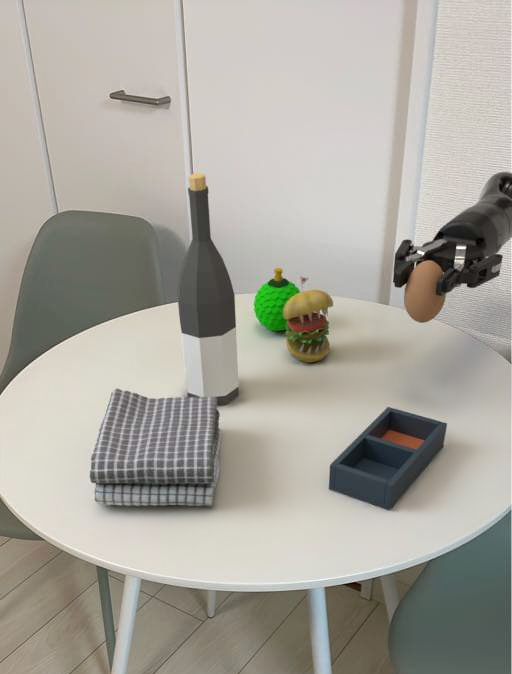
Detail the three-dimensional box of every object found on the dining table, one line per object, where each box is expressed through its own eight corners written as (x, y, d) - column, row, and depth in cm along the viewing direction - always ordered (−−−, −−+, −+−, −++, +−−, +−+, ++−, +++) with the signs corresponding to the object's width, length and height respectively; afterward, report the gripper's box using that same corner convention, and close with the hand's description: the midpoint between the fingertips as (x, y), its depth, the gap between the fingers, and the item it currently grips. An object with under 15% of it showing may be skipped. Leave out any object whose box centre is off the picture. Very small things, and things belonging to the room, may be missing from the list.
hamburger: (299, 371, 114) (300, 294, 106) (273, 353, 119) (272, 279, 111) (340, 357, 117) (344, 281, 109) (313, 340, 122) (315, 267, 114)
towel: (93, 516, 90) (82, 462, 85) (113, 433, 104) (104, 382, 99) (219, 512, 89) (215, 457, 84) (222, 429, 103) (219, 377, 98)
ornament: (303, 338, 122) (305, 278, 116) (254, 340, 123) (252, 280, 117) (302, 317, 129) (303, 259, 122) (254, 319, 129) (253, 261, 123)
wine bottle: (175, 390, 112) (153, 174, 93) (222, 375, 115) (210, 162, 96) (201, 413, 107) (182, 189, 87) (250, 396, 109) (242, 175, 90)
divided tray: (443, 447, 97) (447, 423, 94) (389, 510, 88) (392, 485, 85) (385, 429, 101) (388, 406, 98) (328, 489, 91) (329, 464, 89)
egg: (424, 333, 96) (431, 272, 91) (393, 321, 99) (398, 261, 94) (450, 320, 98) (459, 260, 93) (419, 309, 101) (425, 250, 96)
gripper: (425, 203, 104) (367, 244, 94) (530, 218, 97) (479, 263, 87) (419, 258, 109) (363, 302, 99) (518, 275, 102) (469, 324, 92)
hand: (418, 283), depth 93 cm, fingers closed on egg, 5 cm apart
